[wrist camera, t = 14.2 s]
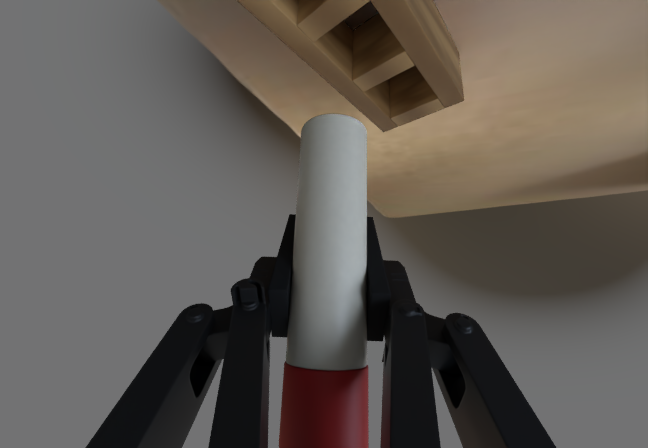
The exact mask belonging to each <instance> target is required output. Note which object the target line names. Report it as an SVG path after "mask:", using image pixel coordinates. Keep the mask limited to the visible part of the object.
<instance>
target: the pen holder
mask: <svg viewBox="0 0 648 448" xmlns="http://www.w3.org/2000/svg"><path fill="white" fill-rule="evenodd" d="M237 1H238V2H239V3H240V4H241V5H242V6H244V7H245V8H246V9H247V10H248V11H249V12H250V13H251V14H252V15H254V16H255V17H256V18H257V19H258V20H259V21H260V22H261V23H263V24H264V25H265V26H266V27H267V28H268V29H269V30H270V31H271V32H273V33H274V34H275V35H276V36H277V37H278V38H279V39H280V40H281V41H283V42H284V43H285V44H286V45H287V46H288V47H289V48H290V49H291V50H293V51H294V52H295V53H296V54H297V55H298V56H299V57H300V58H302V59H303V60H304V61H305V62H306V63H307V64H308V65H309V66H310V67H312V68H313V69H314V70H315V71H316V72H317V73H318V74H319V75H320V76H322V77H323V78H324V79H325V80H326V81H327V82H328V83H329V84H330V85H332V86H333V87H334V88H335V89H336V90H337V91H338V92H339V93H341V94H342V95H343V96H344V97H345V98H346V99H347V100H348V101H349V102H351V103H352V104H353V105H354V106H355V107H356V108H357V109H358V110H359V111H361V112H362V113H363V114H364V115H365V116H366V117H367V118H368V119H369V120H371V121H372V122H373V123H374V124H375V125H376V126H377V127H378V128H379V129H381V130H382V131H383V132H385V131H388V130H391V129H393V128H396V127H398V126H401V125H403V124H406V123H408V122H411V121H414V120H416V119H419V118H421V117H424V116H426V115H429V114H431V113H434V112H436V111H439V110H442V109H444V108H446V107H449V106H452V105H454V104H457V103H459V102H462V101H464V94H463V85H462V76H461V67H460V58H459V52H458V50H457V48H456V46H455V44H454V42H453V40H452V38H451V36H450V34H449V32H448V30H447V28H446V26H445V24H444V22H443V20H442V18H441V16H440V14H439V12H438V10H437V8H436V6H435V4H434V2H433V0H237ZM369 1H371V2H372V4H373V5H374V7H375V8H376V9H377V11H378V12H379V13H378V14H377V15H375V16H374V17H372V18H371V19H369V20H368V21H366V22H365V23H364V24H362V25H361V26H359V27H358V28H356V29H355V30H353V31H352V30H351V28H350V27H349V26H348V25H347V24H346V22H345V21H344V19H346V18H347V17H349V16H350V15H351V14H353V13H354V12H355V11H357V10H358V9H359V8H361V7H362V6H364V5H365V4H366V3H368V2H369Z"/></svg>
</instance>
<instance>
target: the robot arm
mask: <svg viewBox="0 0 648 448" xmlns="http://www.w3.org/2000/svg"><path fill="white" fill-rule="evenodd" d="M295 219H296V215H292V214H290V215H289V218H288V222H287V225H286V229H285V232H284V236H283V239H282V242H281V246H280V249H279V252H278V256H277V257H261V258H260V259H259V260H258V261H257V262H256V263H255V266H254V268H253V271H252V273H251V276H250V278H248V279H243V280H241V281H238V282H237V283H235V284H234V285H233V286H232V288H231V295H232V301H233V305H232V306H230V307H228V308H224V309H219V310H214V311H213V310H212V307H211V306H209V305H207V304H195V305H192V306H189V307H187V308H186V309H184V310H183V311H182V312H181V313H180V314H179V316H178V317H177V319H176V320H175V321H174V323H173V324H172V326H171V327H170V329H169V330H168V331H167V333H166V334H165V336H164V337H163V339H162V340H161V341H160V343H159V344H158V346H157V347H156V349H155V350H154V351H153V353H152V354H151V356H150V357H149V358H148V360H147V361H146V363H145V364H144V365H143V367H142V368H141V370H140V371H139V373H138V374H137V376H136V377H135V379H134V380H133V381H132V383H131V384H130V385H129V387H128V388H127V390H126V391H125V392H124V394H123V395H122V397H121V398H120V400H119V401H118V403H117V404H116V405H115V407H114V408H113V410H112V411H111V412H110V414H109V415H108V417H107V418H106V419H105V421H104V423H103V424H102V425H101V427H100V428H99V430H98V431H97V432H96V434H95V435H94V437H93V438H92V439H91V441H90V442H89V444H88V445H87V446H86V448H182V446H183V444H184V442H185V440H186V437H187V435H188V433H189V431H190V429H191V426H192V424H193V422H194V420H195V418H196V416H197V413H198V411H199V409H200V407H201V404H202V402H203V400H204V398H205V396H206V393H207V391H208V389H209V387H210V385H211V383H212V380H213V378H214V376H215V374H216V372H217V369H218V367H219V365H220V363H221V360H222V359H224V362H223V368H222V374H221V379H220V385H219V390H218V396H217V402H216V407H215V414H214V419H213V425H212V430H211V436H210V442H209V448H268V410H269V407H268V406H269V367H270V341H269V337H270V333H271V332H272V337H287V336H288V323H289V308H290V294H291V279H292V264H293V248H294V233H295ZM384 336H385V341H386V343H385V348H384V354H383V360H382V362H384V369H383V395H382V422H381V448H441V447H440V438H439V431H438V422H437V413H436V405H435V397H434V388H433V379H432V372H431V368H433V371H434V373H435V376H436V379H437V381H438V384H439V386H440V389H441V391H442V394H443V396H444V399H445V402H446V404H447V407H448V409H449V412H450V414H451V417H452V420H453V422H454V425H455V428H456V430H457V433H458V435H459V437H460V440H461V443H462V446H463V448H556V446H555V445H554V443H553V442H552V440H551V438H550V437H549V435H548V434H547V432H546V430H545V429H544V427H543V426H542V424H541V422H540V421H539V419H538V418H537V416H536V415H535V413H534V411H533V410H532V408H531V407H530V405H529V403H528V402H527V400H526V399H525V397H524V395H523V394H522V392H521V391H520V389H519V388H518V386H517V384H516V383H515V381H514V379H513V378H512V376H511V375H510V373H509V371H508V370H507V368H506V367H505V365H504V363H503V362H502V360H501V359H500V357H499V356H498V354H497V352H496V351H495V349H494V348H493V346H492V345H491V343H490V341H489V340H488V338H487V336H486V335H485V333H484V332H483V330H482V328H481V327H480V325H479V324H478V323H477V322H476V321H475V320H474V319H472V318H471V317H469V316H467V315H464V314H461V313H453V314H449V315H448V316H447V317H446V319H442V318H438V317H435V316H432V315H429V314H427V313H426V312H424V310H423V308H422V307H421V306H420V305H419V304H418V303H416V301H415V298H414V295H413V292H412V289H411V286H410V283H409V280H408V276H407V273H406V271H405V268H404V267H403V265H402V264H401V263H400V262H399V261H386V260H383V259H382V255H381V250H380V246H379V242H378V238H377V233H376V229H375V225H374V221H373V217H367V341H383V337H384Z"/></svg>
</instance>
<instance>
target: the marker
mask: <svg viewBox="0 0 648 448" xmlns="http://www.w3.org/2000/svg"><path fill="white" fill-rule="evenodd" d="M279 448H368V365H367V131H366V128H365V126H364V125H363V124H362V123H361V122H360V121H358V120H357V119H355V118H353V117H350V116H347V115H342V114H324V115H320V116H317V117H314V118H312V119H310V120H309V121H307V122H306V123H305V124H304V126H303V128H302V131H301V147H300V160H299V174H298V189H297V205H296V219H295V233H294V248H293V264H292V279H291V294H290V308H289V323H288V336H287V351H286V361H285V363H284V378H283V392H282V407H281V422H280V435H279Z"/></svg>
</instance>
